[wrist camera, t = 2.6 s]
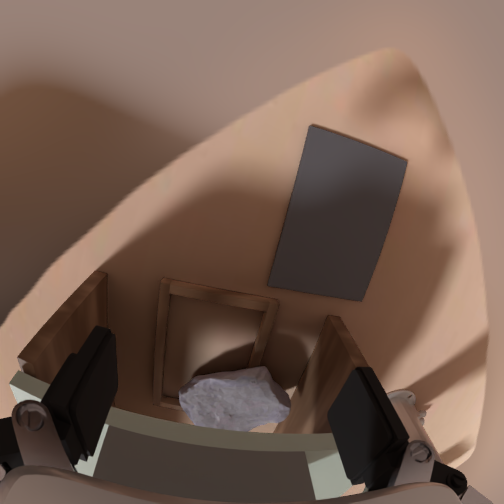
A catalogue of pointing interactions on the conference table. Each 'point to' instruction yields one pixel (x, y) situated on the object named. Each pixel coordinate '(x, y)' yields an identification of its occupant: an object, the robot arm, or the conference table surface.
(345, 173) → the mat
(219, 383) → the stone block
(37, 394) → the lid
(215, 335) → the conference table surface
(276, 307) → the well frame
